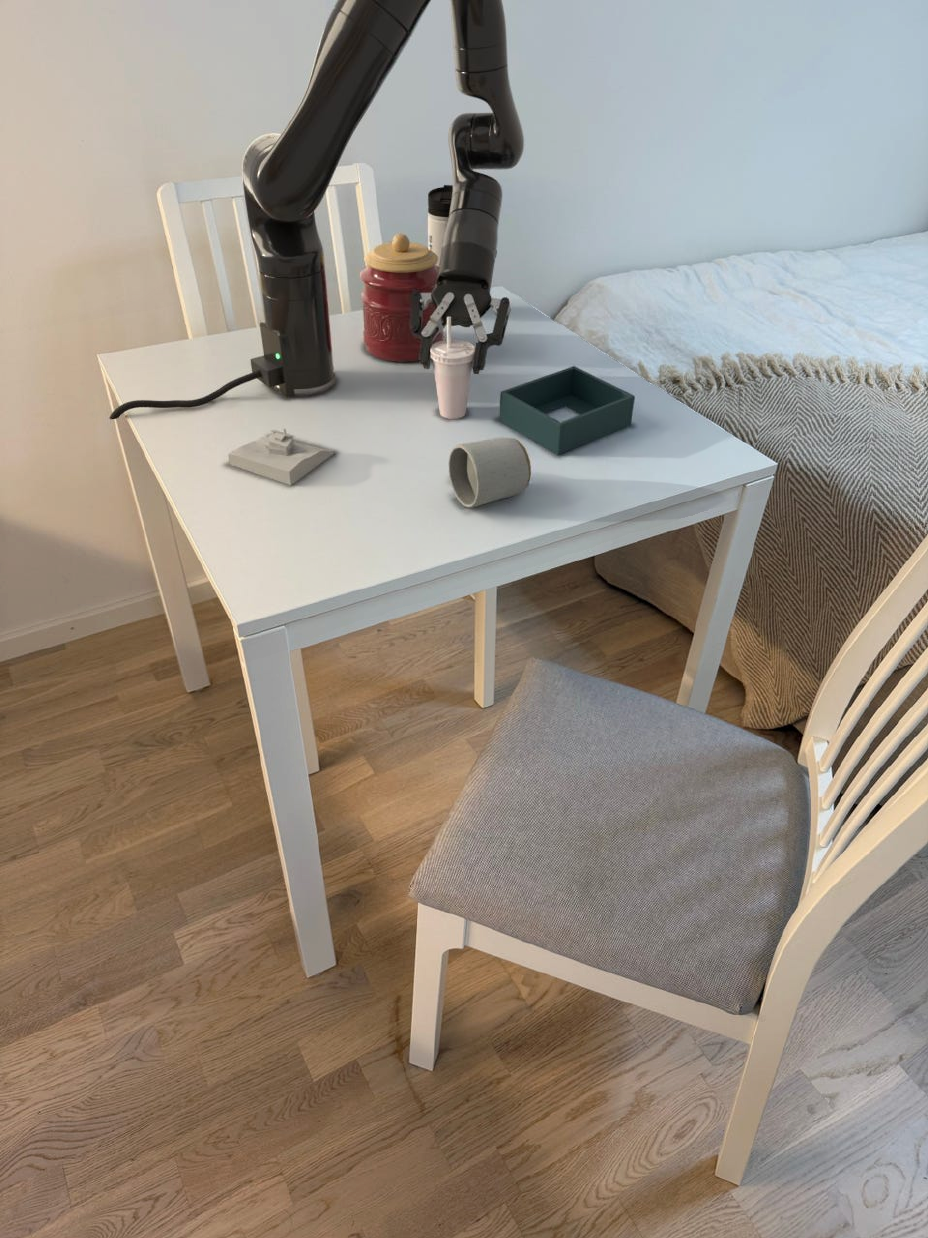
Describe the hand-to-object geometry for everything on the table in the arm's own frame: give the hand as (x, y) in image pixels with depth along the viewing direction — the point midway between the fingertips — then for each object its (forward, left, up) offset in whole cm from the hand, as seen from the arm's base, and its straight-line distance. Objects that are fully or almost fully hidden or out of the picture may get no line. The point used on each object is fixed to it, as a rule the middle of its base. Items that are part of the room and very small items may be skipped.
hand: (450, 369), depth 121 cm
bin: (+12, -11, -7) cm, 18 cm away
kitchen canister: (+9, +24, -8) cm, 27 cm away
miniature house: (-25, +4, -8) cm, 26 cm away
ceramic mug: (-9, -18, -8) cm, 21 cm away
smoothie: (+1, +1, -8) cm, 8 cm away
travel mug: (+24, +32, -8) cm, 41 cm away
